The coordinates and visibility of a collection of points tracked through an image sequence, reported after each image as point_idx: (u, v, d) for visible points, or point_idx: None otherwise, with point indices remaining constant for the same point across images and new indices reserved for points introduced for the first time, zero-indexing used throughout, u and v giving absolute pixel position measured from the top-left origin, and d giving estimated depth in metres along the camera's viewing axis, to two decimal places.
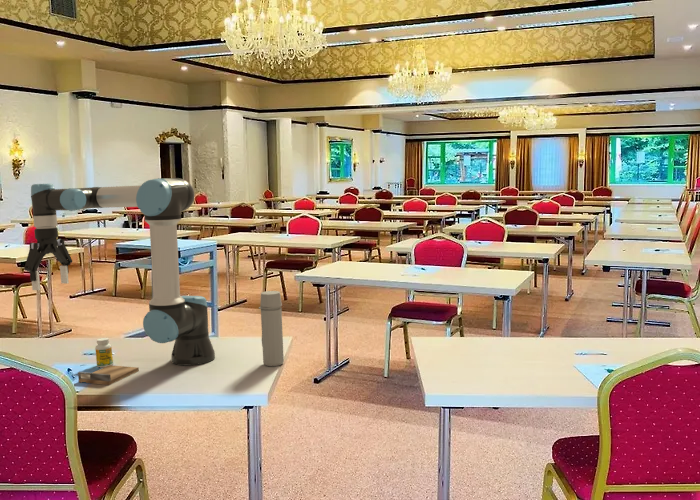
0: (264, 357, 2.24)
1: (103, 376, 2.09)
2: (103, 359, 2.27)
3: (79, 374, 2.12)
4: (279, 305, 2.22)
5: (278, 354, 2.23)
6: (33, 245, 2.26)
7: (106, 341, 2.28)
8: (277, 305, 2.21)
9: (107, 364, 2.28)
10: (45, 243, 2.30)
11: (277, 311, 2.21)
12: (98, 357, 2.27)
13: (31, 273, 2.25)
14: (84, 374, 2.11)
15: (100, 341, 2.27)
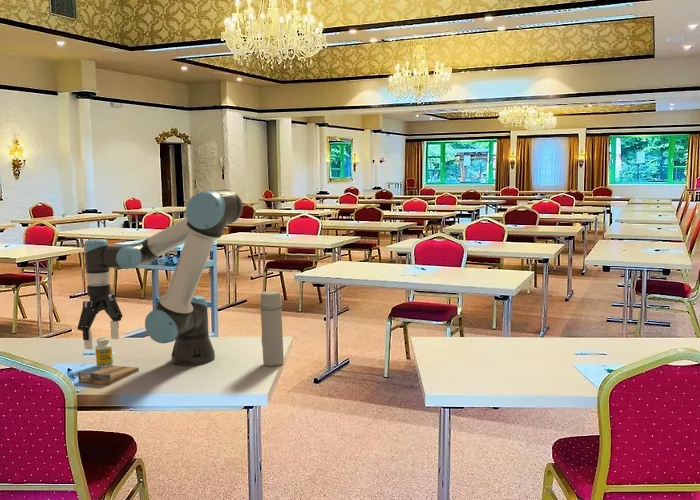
0: (264, 357, 2.24)
1: (103, 376, 2.09)
2: (103, 359, 2.27)
3: (79, 374, 2.12)
4: (279, 305, 2.22)
5: (278, 354, 2.23)
6: (87, 304, 2.20)
7: (106, 341, 2.28)
8: (277, 305, 2.21)
9: (107, 364, 2.28)
10: (98, 300, 2.25)
11: (277, 311, 2.21)
12: (98, 357, 2.27)
13: (84, 332, 2.20)
14: (84, 374, 2.11)
15: (100, 341, 2.27)
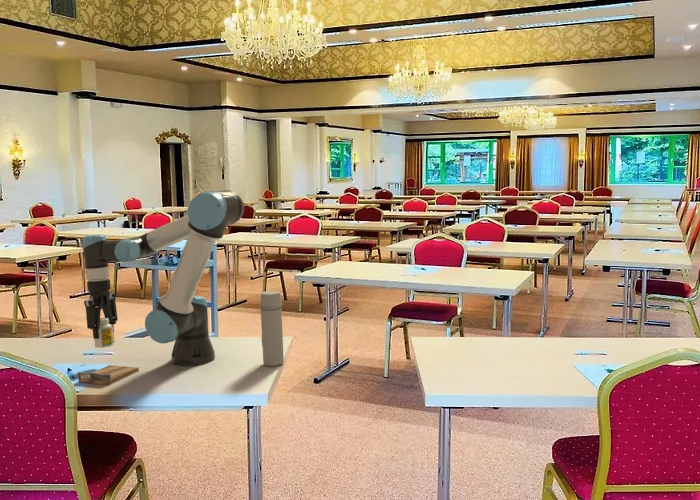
0: (264, 357, 2.24)
1: (103, 376, 2.09)
2: (103, 339, 2.26)
3: (79, 374, 2.12)
4: (279, 305, 2.22)
5: (278, 354, 2.23)
6: (88, 303, 2.21)
7: (106, 321, 2.27)
8: (277, 305, 2.21)
9: (107, 344, 2.27)
10: (98, 295, 2.24)
11: (277, 311, 2.21)
12: None
13: (94, 331, 2.24)
14: (84, 374, 2.11)
15: (100, 321, 2.26)
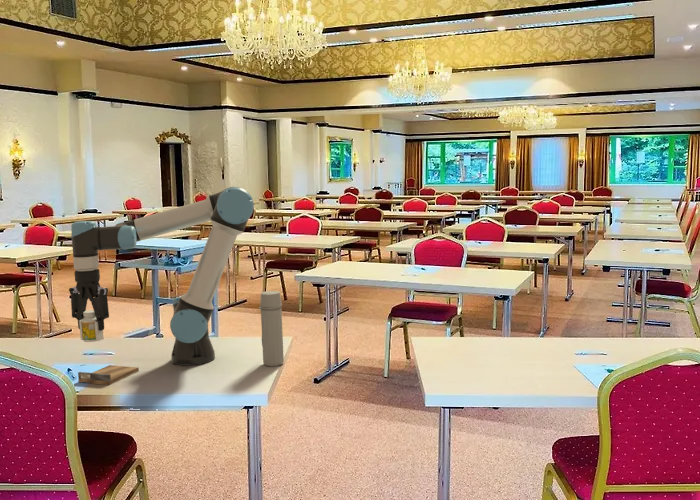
0: (264, 357, 2.24)
1: (103, 376, 2.09)
2: None
3: (79, 374, 2.12)
4: (279, 305, 2.22)
5: (278, 354, 2.23)
6: None
7: (84, 314, 2.11)
8: (277, 305, 2.21)
9: (83, 338, 2.12)
10: (80, 285, 2.11)
11: (277, 311, 2.21)
12: None
13: None
14: (84, 374, 2.11)
15: None
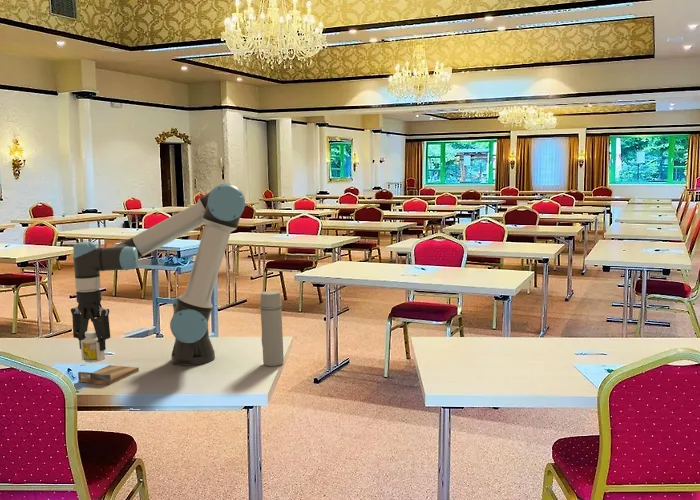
0: (264, 357, 2.24)
1: (103, 376, 2.09)
2: None
3: (79, 374, 2.12)
4: (279, 305, 2.22)
5: (278, 354, 2.23)
6: None
7: (86, 335, 2.12)
8: (277, 305, 2.21)
9: (84, 359, 2.12)
10: (81, 305, 2.12)
11: (277, 311, 2.21)
12: None
13: None
14: (84, 374, 2.11)
15: None
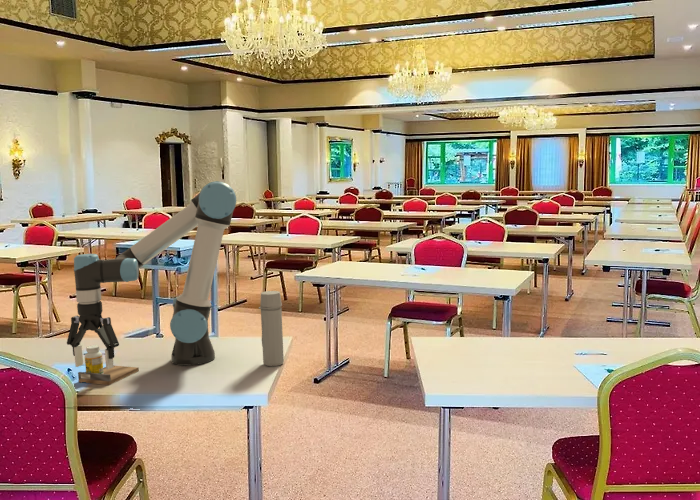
0: (264, 357, 2.24)
1: (103, 376, 2.09)
2: None
3: (79, 374, 2.12)
4: (279, 305, 2.22)
5: (278, 354, 2.23)
6: None
7: (87, 350, 2.12)
8: (277, 305, 2.21)
9: None
10: (83, 318, 2.12)
11: (277, 311, 2.21)
12: None
13: None
14: (84, 374, 2.11)
15: None
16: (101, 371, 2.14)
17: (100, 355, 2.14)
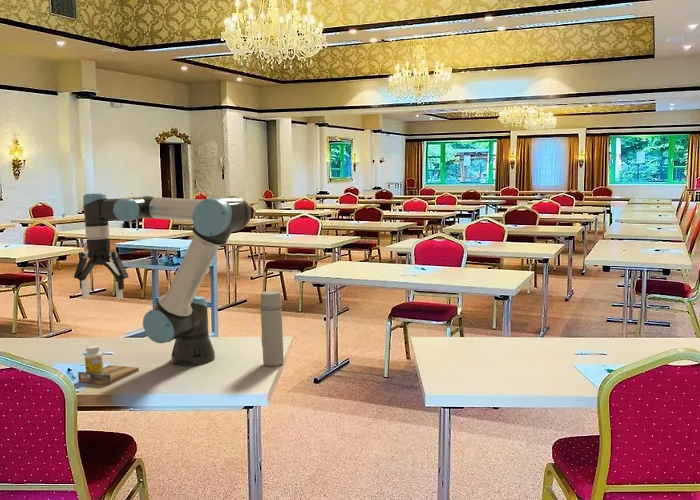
0: (264, 357, 2.24)
1: (103, 376, 2.09)
2: None
3: (79, 374, 2.12)
4: (279, 305, 2.22)
5: (278, 354, 2.23)
6: None
7: (87, 350, 2.12)
8: (277, 305, 2.21)
9: None
10: (92, 254, 2.26)
11: (277, 311, 2.21)
12: None
13: None
14: (84, 374, 2.11)
15: None
16: (101, 371, 2.14)
17: (100, 355, 2.14)
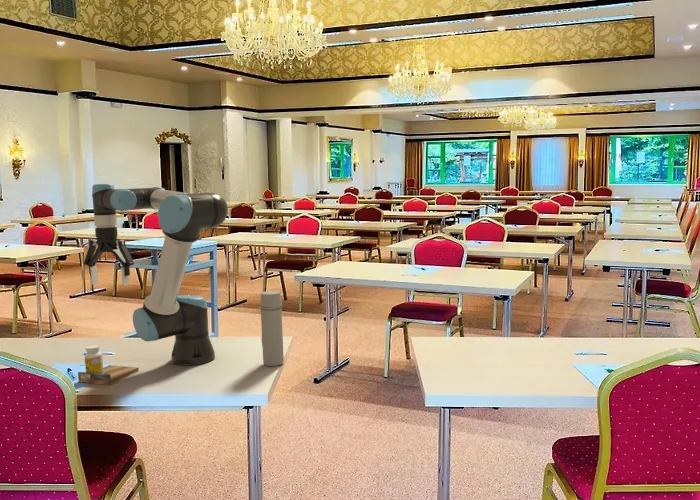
0: (264, 357, 2.24)
1: (103, 376, 2.09)
2: None
3: (79, 374, 2.12)
4: (279, 305, 2.22)
5: (278, 354, 2.23)
6: None
7: (87, 350, 2.12)
8: (277, 305, 2.21)
9: None
10: (100, 241, 2.37)
11: (277, 311, 2.21)
12: None
13: None
14: (84, 374, 2.11)
15: None
16: (101, 371, 2.14)
17: (100, 355, 2.14)
